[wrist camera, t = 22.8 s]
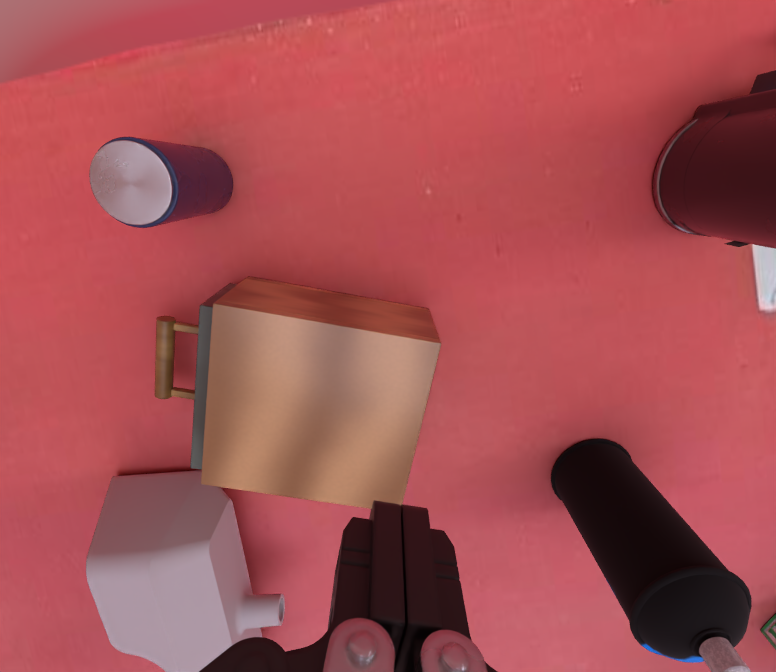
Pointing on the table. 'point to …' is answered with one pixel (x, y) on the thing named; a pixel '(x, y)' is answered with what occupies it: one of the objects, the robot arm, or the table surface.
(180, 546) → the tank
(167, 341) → the drawer
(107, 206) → the can
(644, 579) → the aerosol can
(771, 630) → the stack of blocks
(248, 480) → the cabinet
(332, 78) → the table surface
